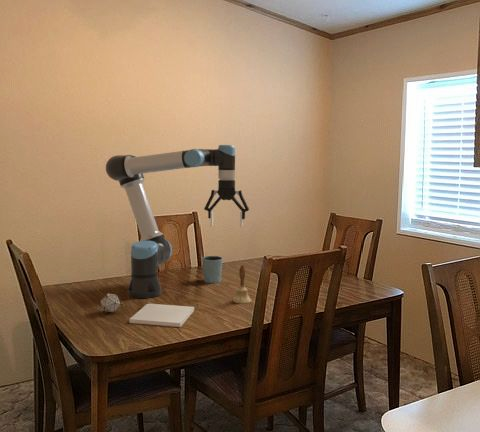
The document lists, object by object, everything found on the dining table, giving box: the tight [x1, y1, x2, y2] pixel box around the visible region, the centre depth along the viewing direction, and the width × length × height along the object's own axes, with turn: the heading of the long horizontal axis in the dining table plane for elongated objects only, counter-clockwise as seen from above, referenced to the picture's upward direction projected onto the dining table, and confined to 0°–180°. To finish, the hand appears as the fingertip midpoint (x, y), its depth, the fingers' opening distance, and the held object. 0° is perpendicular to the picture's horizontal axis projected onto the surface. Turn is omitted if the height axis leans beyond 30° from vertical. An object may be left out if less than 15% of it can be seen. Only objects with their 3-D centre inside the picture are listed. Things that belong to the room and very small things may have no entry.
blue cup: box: [201, 255, 224, 284], centre depth 254 cm, size 10×10×12 cm
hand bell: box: [232, 264, 252, 305], centre depth 222 cm, size 8×8×16 cm
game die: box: [97, 291, 124, 315], centre depth 204 cm, size 9×8×10 cm
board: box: [128, 303, 195, 328], centre depth 200 cm, size 20×20×2 cm
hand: (226, 226), depth 231 cm, fingers open, 13 cm apart
